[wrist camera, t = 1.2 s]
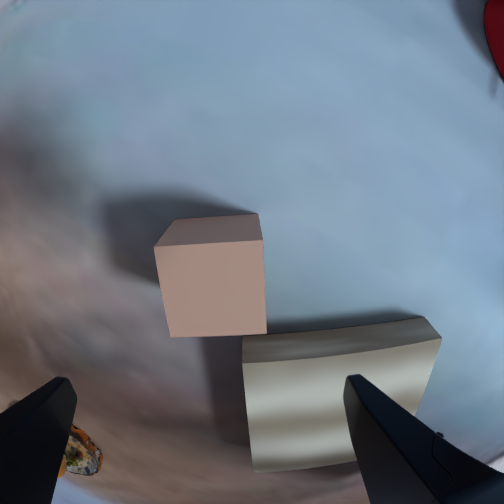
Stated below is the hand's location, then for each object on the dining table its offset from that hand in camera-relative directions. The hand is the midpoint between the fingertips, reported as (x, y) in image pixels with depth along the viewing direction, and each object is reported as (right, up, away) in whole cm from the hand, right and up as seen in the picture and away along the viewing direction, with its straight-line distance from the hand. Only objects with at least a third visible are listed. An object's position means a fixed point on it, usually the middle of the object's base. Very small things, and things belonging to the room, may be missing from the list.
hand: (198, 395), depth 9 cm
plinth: (+8, -8, +15) cm, 19 cm away
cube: (0, +4, +11) cm, 12 cm away
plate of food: (-21, -18, +19) cm, 34 cm away
